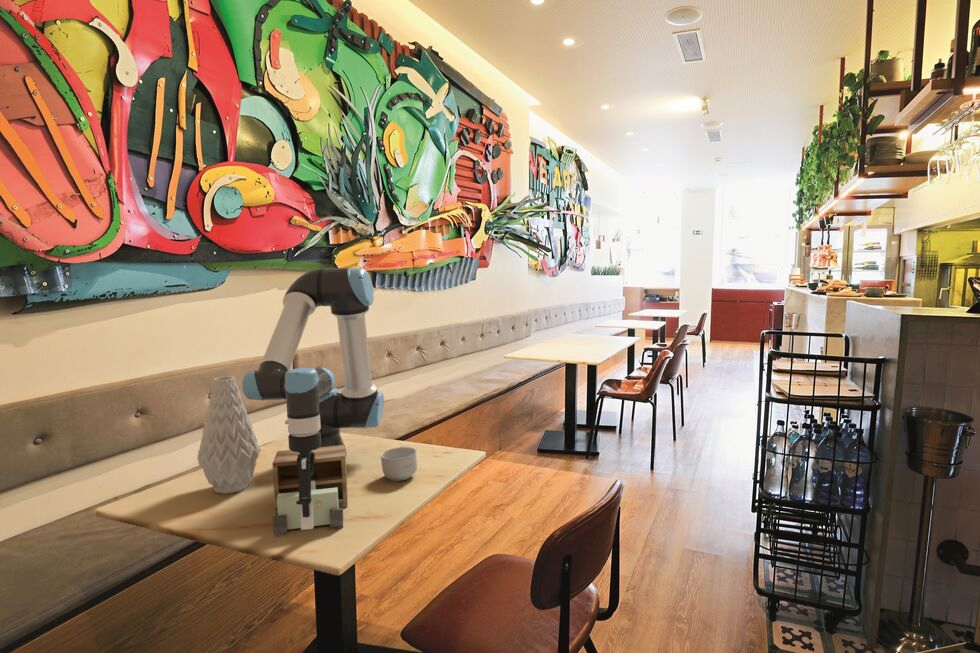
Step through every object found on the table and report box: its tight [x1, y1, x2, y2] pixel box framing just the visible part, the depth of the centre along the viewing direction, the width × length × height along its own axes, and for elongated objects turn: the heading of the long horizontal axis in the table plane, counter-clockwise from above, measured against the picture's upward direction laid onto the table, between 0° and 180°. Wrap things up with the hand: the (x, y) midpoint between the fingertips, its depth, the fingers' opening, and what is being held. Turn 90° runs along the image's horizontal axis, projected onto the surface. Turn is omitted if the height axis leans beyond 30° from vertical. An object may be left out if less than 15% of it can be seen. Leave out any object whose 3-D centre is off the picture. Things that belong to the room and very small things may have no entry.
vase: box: [197, 376, 261, 495], centre depth 161 cm, size 17×17×33 cm
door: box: [277, 487, 339, 531], centre depth 136 cm, size 4×14×8 cm, turn 104°
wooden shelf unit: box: [272, 444, 348, 537], centre depth 144 cm, size 22×18×14 cm
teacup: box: [380, 445, 418, 482], centre depth 170 cm, size 14×11×8 cm
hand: (309, 516), depth 137 cm, fingers open, 13 cm apart
